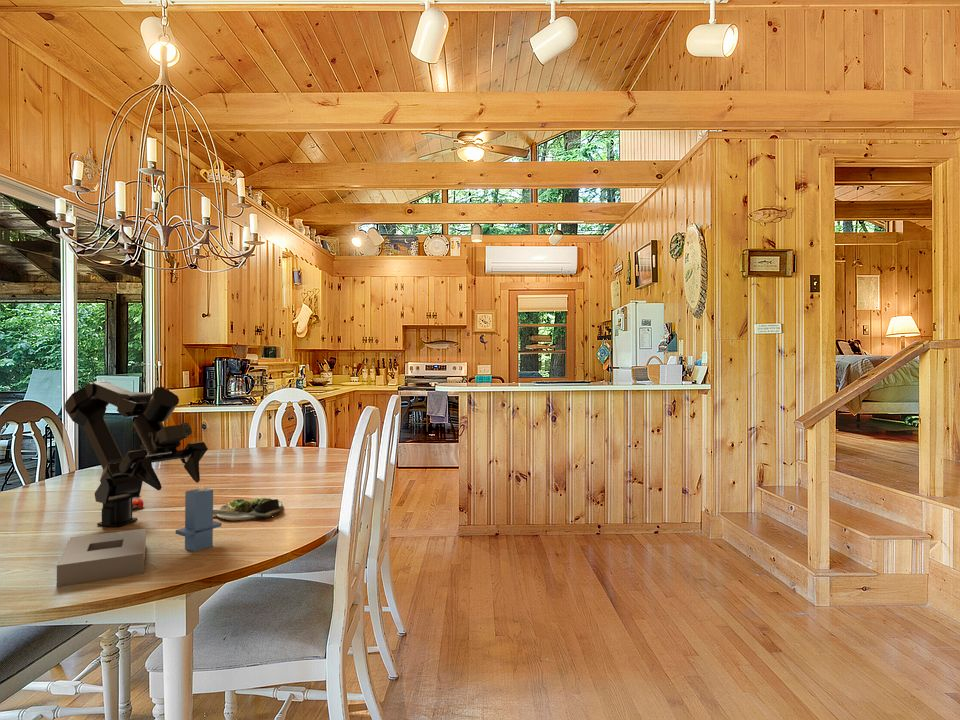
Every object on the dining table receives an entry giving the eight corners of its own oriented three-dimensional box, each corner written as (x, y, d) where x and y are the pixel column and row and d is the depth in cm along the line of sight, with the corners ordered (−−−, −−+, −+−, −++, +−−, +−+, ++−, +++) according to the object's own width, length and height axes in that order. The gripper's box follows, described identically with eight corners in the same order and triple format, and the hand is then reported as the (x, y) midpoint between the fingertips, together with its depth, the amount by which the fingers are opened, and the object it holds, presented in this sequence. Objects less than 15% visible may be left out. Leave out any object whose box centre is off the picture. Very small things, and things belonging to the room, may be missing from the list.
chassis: (70, 556, 121) (70, 537, 121) (145, 545, 128) (146, 528, 128) (56, 586, 105) (56, 565, 105) (143, 573, 112) (143, 553, 112)
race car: (145, 510, 158) (145, 496, 158) (122, 513, 154) (122, 499, 154) (135, 500, 168) (135, 487, 167) (114, 503, 164) (114, 489, 164)
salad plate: (200, 527, 143) (200, 509, 143) (211, 508, 160) (211, 492, 160) (280, 521, 149) (280, 503, 149) (283, 504, 166) (283, 488, 166)
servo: (175, 551, 124) (175, 489, 124) (211, 540, 132) (212, 482, 132) (184, 554, 123) (185, 492, 122) (221, 543, 130) (221, 484, 130)
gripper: (126, 415, 125) (153, 470, 120) (203, 409, 142) (231, 457, 136) (107, 447, 130) (133, 501, 124) (185, 437, 146) (210, 485, 140)
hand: (179, 485), depth 131 cm, fingers open, 9 cm apart
